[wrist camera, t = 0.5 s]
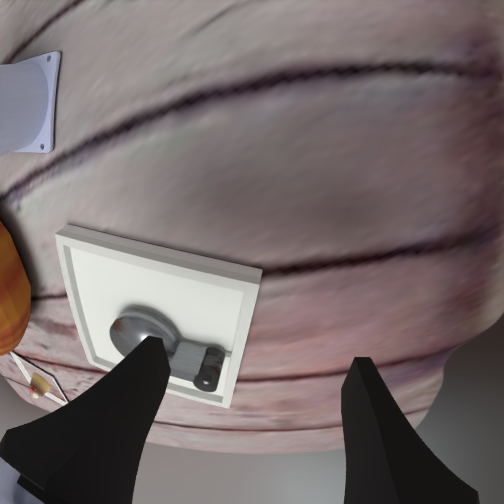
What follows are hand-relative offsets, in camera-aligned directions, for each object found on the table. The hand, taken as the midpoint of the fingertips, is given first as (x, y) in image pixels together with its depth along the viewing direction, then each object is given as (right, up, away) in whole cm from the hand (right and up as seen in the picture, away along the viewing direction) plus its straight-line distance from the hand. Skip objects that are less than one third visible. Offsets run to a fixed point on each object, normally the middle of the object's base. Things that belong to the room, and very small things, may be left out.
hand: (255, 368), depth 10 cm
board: (-9, -2, +13) cm, 16 cm away
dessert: (-39, -19, +28) cm, 51 cm away
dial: (-7, -3, +12) cm, 14 cm away
